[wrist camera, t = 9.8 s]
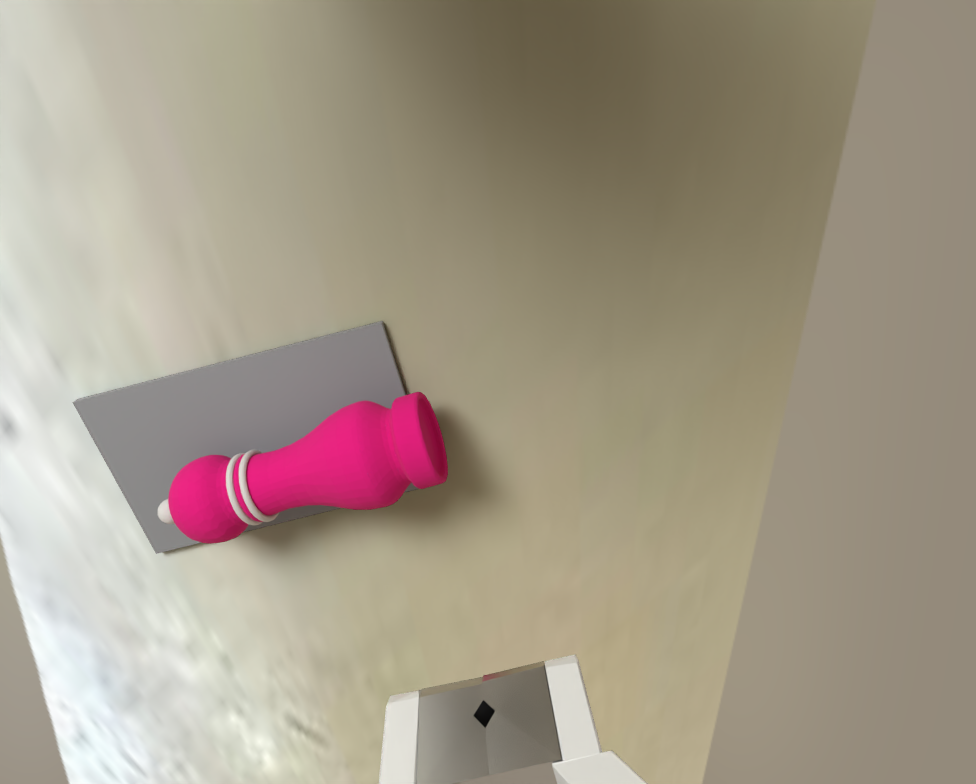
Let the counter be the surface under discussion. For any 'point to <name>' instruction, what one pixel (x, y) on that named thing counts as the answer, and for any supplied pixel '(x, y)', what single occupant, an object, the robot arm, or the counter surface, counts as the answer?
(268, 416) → the mat
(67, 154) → the counter surface
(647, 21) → the counter surface
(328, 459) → the pepper mill
